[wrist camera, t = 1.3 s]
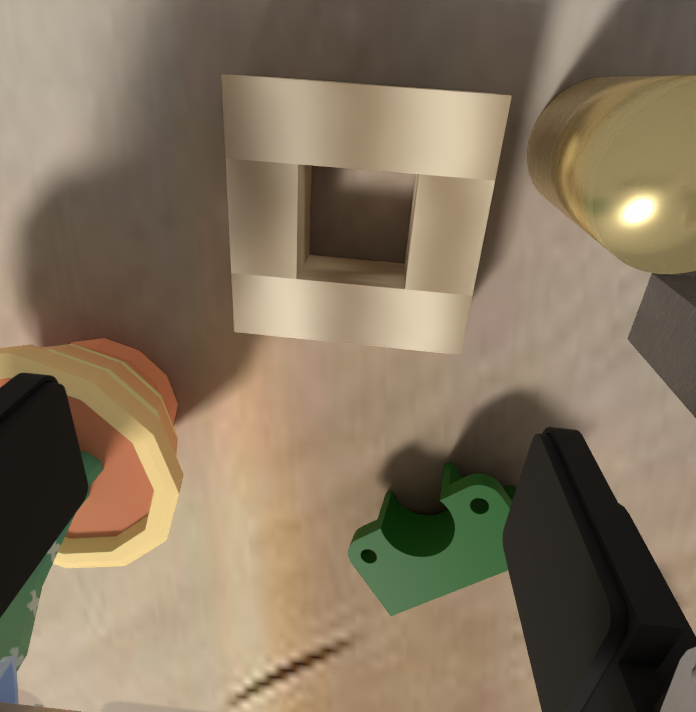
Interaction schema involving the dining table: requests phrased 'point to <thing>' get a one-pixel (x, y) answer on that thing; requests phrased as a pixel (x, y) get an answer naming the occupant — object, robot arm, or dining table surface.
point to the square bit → (669, 333)
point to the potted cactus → (100, 470)
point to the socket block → (366, 152)
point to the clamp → (434, 542)
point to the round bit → (624, 166)
